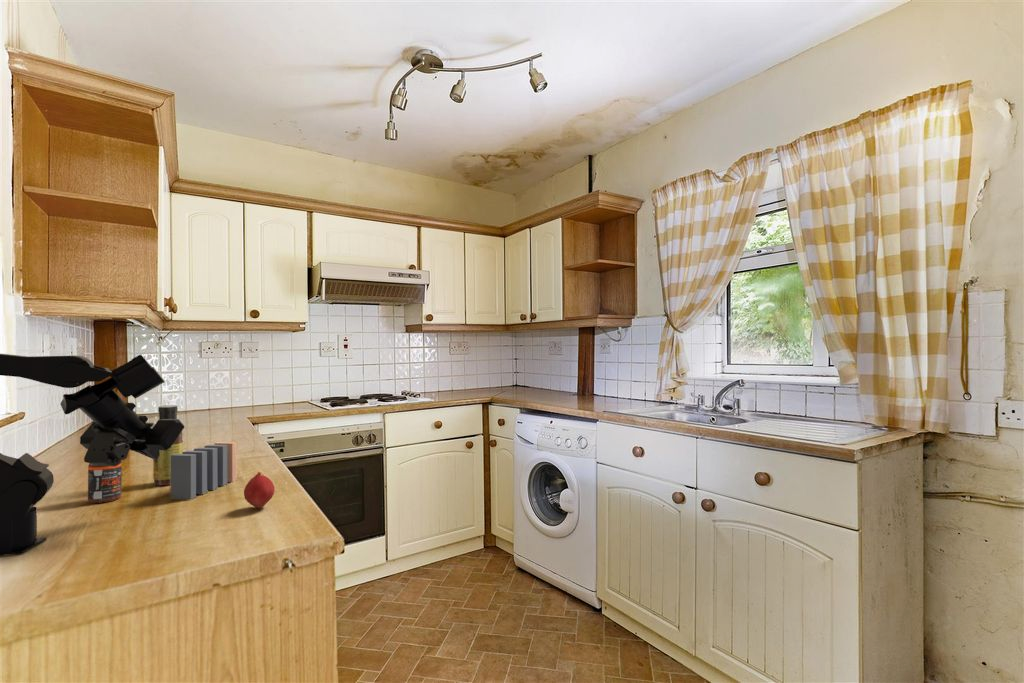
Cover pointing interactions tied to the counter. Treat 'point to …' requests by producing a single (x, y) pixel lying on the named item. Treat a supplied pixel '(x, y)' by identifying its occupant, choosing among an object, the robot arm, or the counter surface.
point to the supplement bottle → (104, 483)
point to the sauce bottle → (164, 460)
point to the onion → (259, 490)
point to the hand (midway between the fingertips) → (156, 457)
